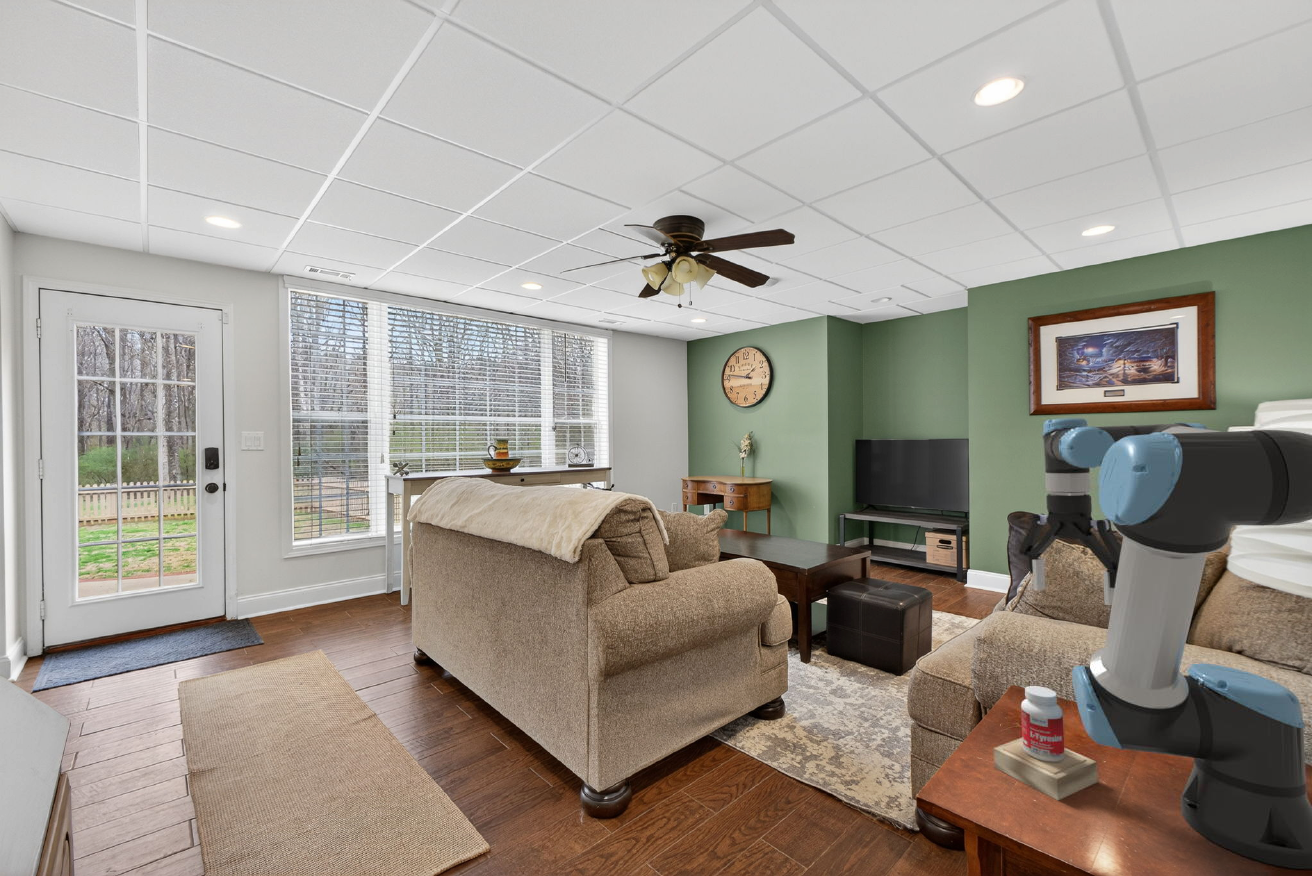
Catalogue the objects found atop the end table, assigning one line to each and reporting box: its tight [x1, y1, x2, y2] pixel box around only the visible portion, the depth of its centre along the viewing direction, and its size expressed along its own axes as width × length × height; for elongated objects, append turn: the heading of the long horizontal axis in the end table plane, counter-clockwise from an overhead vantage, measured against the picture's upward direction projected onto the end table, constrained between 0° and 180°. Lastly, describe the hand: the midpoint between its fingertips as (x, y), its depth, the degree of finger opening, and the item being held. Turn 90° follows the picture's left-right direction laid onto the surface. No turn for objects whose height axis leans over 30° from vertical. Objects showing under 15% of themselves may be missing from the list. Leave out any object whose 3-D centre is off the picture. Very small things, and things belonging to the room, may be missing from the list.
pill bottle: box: [1020, 685, 1065, 762], centre depth 101 cm, size 6×6×11 cm
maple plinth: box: [993, 737, 1098, 801], centre depth 101 cm, size 11×11×4 cm
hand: (1073, 596), depth 118 cm, fingers open, 13 cm apart
